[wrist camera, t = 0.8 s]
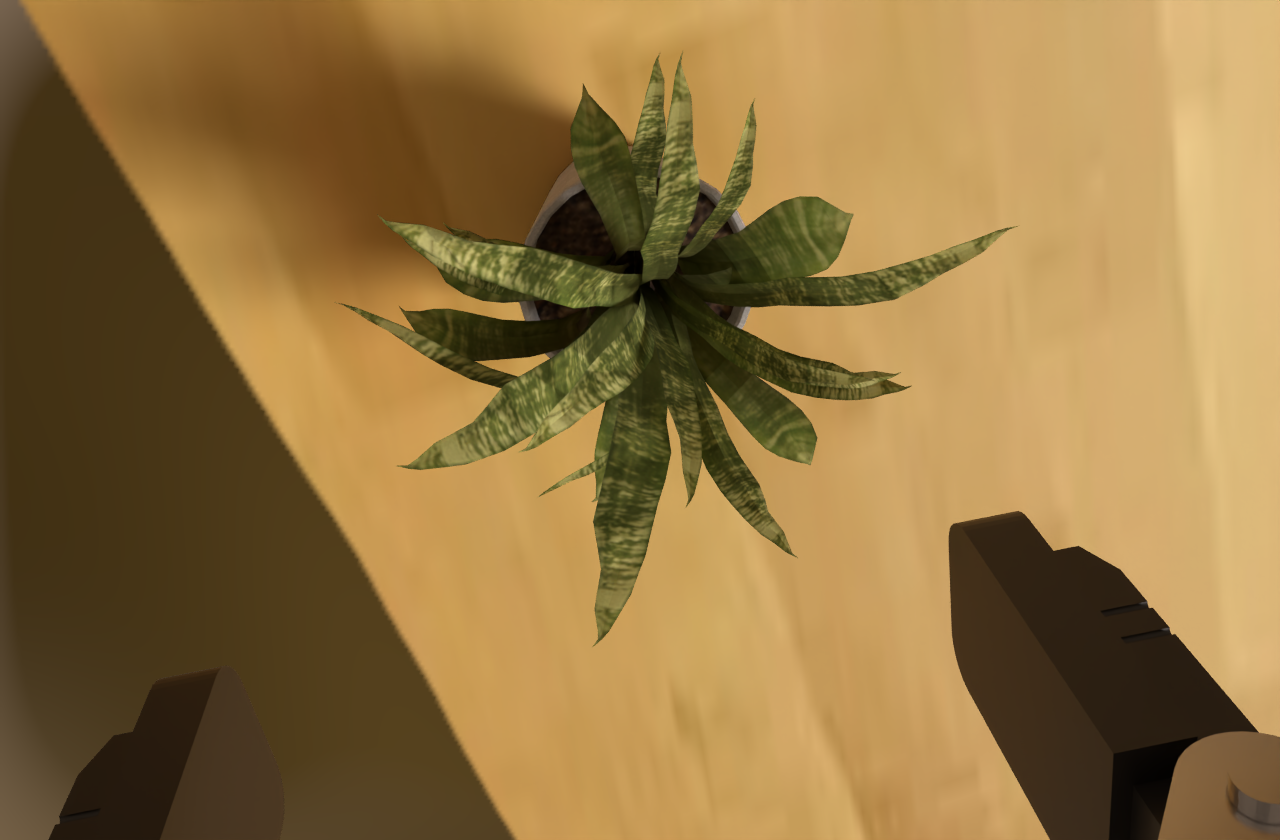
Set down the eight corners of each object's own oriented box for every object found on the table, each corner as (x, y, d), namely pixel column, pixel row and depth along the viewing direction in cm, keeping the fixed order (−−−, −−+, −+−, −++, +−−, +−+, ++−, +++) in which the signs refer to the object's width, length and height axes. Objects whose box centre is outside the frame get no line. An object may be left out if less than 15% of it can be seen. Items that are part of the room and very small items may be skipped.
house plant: (696, -139, 33) (844, -125, 19) (916, 217, 39) (1156, 435, 25) (336, 151, 36) (224, 355, 22) (592, 443, 42) (639, 757, 28)
